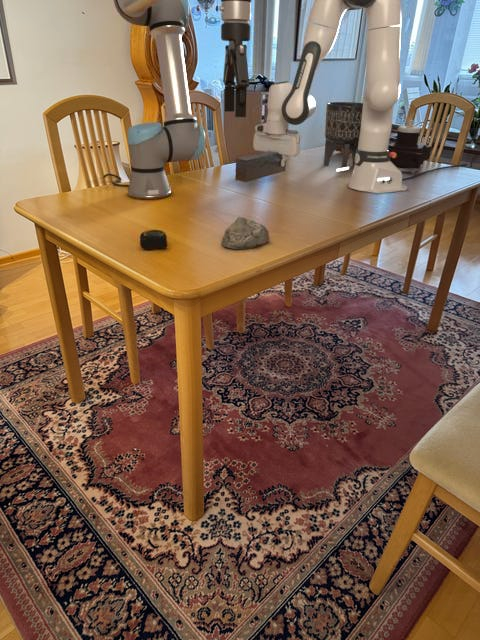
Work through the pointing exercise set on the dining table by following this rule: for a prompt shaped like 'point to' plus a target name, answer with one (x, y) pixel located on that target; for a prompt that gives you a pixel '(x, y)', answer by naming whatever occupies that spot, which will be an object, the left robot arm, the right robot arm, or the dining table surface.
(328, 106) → the planter
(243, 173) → the bar
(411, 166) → the mechanical component
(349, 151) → the toy
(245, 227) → the rock
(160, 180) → the left robot arm
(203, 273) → the dining table surface
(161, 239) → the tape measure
